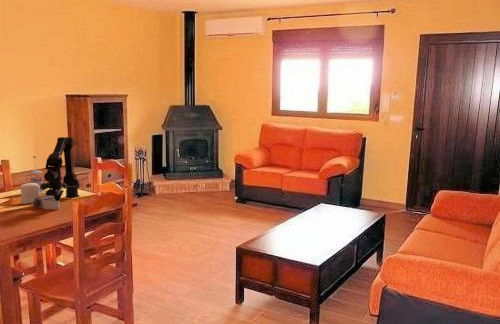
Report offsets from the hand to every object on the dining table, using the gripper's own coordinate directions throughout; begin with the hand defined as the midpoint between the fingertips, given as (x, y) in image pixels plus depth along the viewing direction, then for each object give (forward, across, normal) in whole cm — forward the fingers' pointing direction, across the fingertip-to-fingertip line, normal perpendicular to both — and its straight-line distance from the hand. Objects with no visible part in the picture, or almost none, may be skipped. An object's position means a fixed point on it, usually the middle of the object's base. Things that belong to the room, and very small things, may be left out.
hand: (57, 203), depth 254 cm
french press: (+5, -40, -28) cm, 49 cm away
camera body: (+4, -7, -9) cm, 12 cm away
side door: (+3, +1, -4) cm, 5 cm away
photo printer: (+4, -14, -21) cm, 26 cm away
